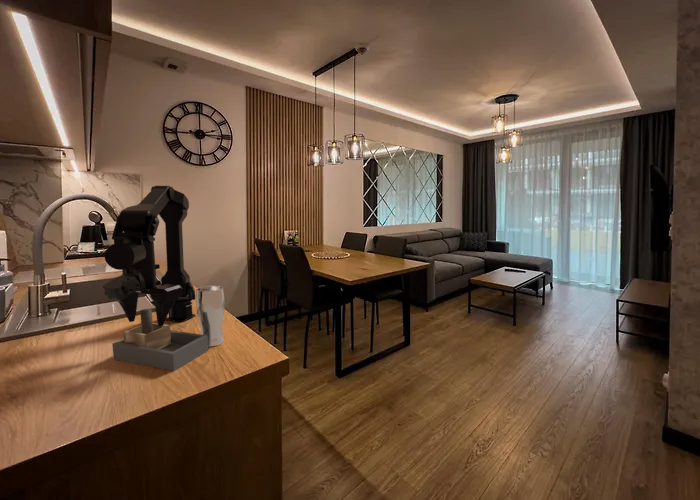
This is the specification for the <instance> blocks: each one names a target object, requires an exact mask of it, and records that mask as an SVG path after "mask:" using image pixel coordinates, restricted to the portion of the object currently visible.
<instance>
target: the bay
mask: <svg viewBox="0 0 700 500" xmlns="http://www.w3.org/2000/svg"><path fill="white" fill-rule="evenodd" d="M170 333H171V344H170V345H168V346H166V347H164V348H162V349H155V348H149V347H144V346H138V345H132V344H126V343H124V338H122V339H120V340H117V341H115V342H113V343H112V354H113V355H112V356H113V360H114V361H115V360H116V361H120V362H125V363H131V364H135V365H142V366H146V367H151V368H157V369H163V370H167V371H173V372H175V371H177V370H178V369H180V368H182V367H184V366H185V365H187V364H188V363H191V362H192V361H194V360H195V359H196V358H198V357H200V356H201V355H203V354H205V353H207V352H208V351H209V347H208V336H207V335H201V333H200V334H198V333H192V332H186V331H178V330H172V329H170Z"/></svg>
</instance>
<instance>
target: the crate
mask: <svg viewBox="0 0 700 500" xmlns="http://www.w3.org/2000/svg"><path fill="white" fill-rule="evenodd" d="M152 311H153V310H152V308H144V309H141V310H140V311H139V312H140V323H141V325H137V326H135V327H133V328H131V329H127V330H124V331H123V339H124V343H126V344H132V345H138V346H144V347H149V348H155V349H162V348H164V347H166V346H168V345H170V344H171V333H170V330H171V324H165V323H164V324H163V325H162V326H158V322H157V323H156V322H153V312H152Z"/></svg>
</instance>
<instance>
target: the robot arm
mask: <svg viewBox="0 0 700 500" xmlns="http://www.w3.org/2000/svg"><path fill="white" fill-rule="evenodd" d="M189 208H190V202H189V199H188V197H187V196H186V194H184V193H182V192H181V191H179V190H176V189H174V187H173V186H170V185H153V186H151V188H150V191H149V192H148V193H147V194H146V196H145V197H143V199H142V200H141V201H139V203H138V204H135V205H131V206H127V207H125V208H124V209H122V210H121V211H120V212H119V214H118V215H117V218H116V221H115V225H114V227H113V232H112V234H111V240H113V243H112V244H111V245H109V246H108V247H107V248H106V250H105V252H104V260H105V262H106V264H107V265H108V266H109V267H110V268H111V269H114V270H118V271H122V273H121V275H119V276H118V277H114V278H113V279H111V280H110V281H108V282H107V283H105V284H103V285H102V289H103V291H104V295H105V296H107V299H109V300H114V301H115V302H118V304H119V305H120V307H121V308H122V310H123V312H124V314H125V316H126V318H127V319H128V322H129V323H133V322H135V320H136V316H137V308H138V301H139V295H140V294H143V295H150V296H149V297H150V299H151V300H152V301H149V303H150V304H151V305H152V306H153V307H154V309H155V314H156V315H155V316H156V321H157V323H158V326H162V325H163V324H165V322H166V321H168V322H169V321H170V322H176V323H177V322H178V323H182V322H184V321H187V320H190V319H192V318H194V317H196V314H195V313H194V314H193V304H192V302H193V300H194V301H196V290H195V288H194V285H193V283H192V282H191V278H190V275H189V274H188V272H187V270H186V269H185V266H184V238H183V237H184V236H183V222H184V221H185V219H186V218H187V216H188V210H189ZM158 216H159V217H160V218H161V220H162V221H163V222H164V226H165V229H164V230H165V246H166V249H165V250H166V253H165V254H166V272H165V273H164V275H162V276H161V278H160V280H157V270H158V269H159V270H160V266H161V265H160V264H159V263H158V264H157V263H156V256H155V254H156V253H155V243H154V241H155V240H156V238H155V236H156V234H157V231H158V228H159V225H160V219H159V217H158Z"/></svg>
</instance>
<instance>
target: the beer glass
mask: <svg viewBox="0 0 700 500" xmlns="http://www.w3.org/2000/svg"><path fill="white" fill-rule="evenodd" d="M224 292H225V291H224V287H223V286H222V285H217V284H216V285H215V284H213V285H212V284H211V285H204V286H199V287H197V288H196V290H195V298H196V299H195V302H196V303H195V306H196V307H195V308H196V313H197V318H198V321H199V327H200V331H201V332H200V335H207V336H208V348H212V347H217V346H220V345H222V344H223V343H224V342H225V336H224V332H223V331H224V330H223V324H224V323H223V322H224V316H225V307H226V306H225V302H226V301H225V294H224Z"/></svg>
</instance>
